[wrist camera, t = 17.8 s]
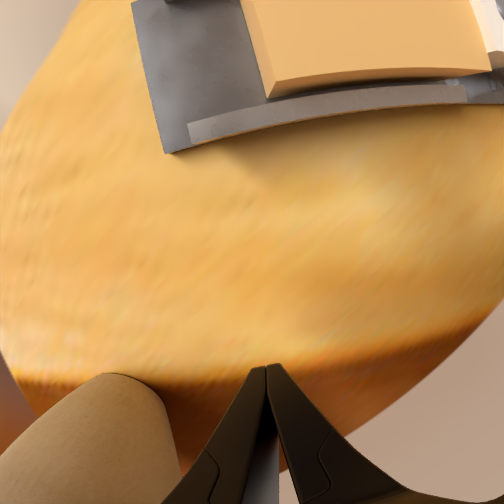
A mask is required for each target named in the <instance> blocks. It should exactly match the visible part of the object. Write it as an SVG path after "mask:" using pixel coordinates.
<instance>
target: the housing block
mask: <svg viewBox="0 0 504 504" xmlns="http://www.w3.org/2000/svg"><path fill="white" fill-rule="evenodd" d="M469 1H470V3H471V6H472V9H473V11H474V14H475V17H476V19H477V22H478V25H479V28H480V31H481V34H482V37H483V40H484V43H485V47H486V50H487V54H488V57H489V61H490V65H491V69H495V68H501V67H504V0H469Z"/></svg>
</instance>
